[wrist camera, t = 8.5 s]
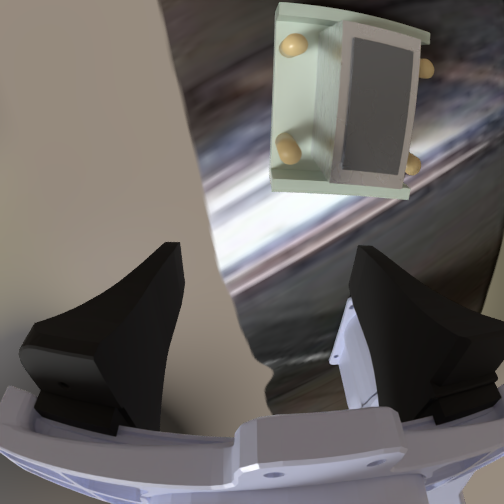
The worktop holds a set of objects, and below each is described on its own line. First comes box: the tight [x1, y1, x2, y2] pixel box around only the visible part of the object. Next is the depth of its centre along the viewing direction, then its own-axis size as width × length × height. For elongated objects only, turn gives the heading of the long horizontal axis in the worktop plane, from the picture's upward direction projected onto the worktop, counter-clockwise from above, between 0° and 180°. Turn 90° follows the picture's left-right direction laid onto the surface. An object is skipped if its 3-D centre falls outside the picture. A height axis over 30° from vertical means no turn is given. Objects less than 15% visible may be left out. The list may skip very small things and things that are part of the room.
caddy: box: [269, 2, 434, 200], centre depth 16 cm, size 11×9×4 cm
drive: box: [310, 20, 421, 189], centre depth 14 cm, size 8×4×5 cm, turn 178°
